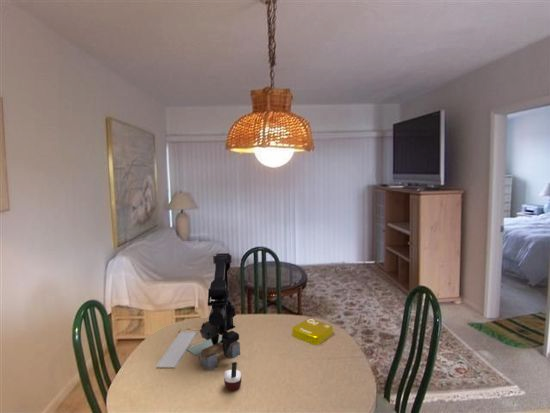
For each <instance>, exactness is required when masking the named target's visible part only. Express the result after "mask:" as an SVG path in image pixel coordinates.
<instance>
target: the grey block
mask: <svg viewBox="0 0 550 413" xmlns="http://www.w3.org/2000/svg"><path fill="white" fill-rule="evenodd" d="M225 355H226V356H227V355H228V356H227V357H229V356H230V357H229V358H231V359H232V358H233V359H235V358H238V357H239V356H240V355H241V342H240V341H238V342H237V343H235V344H232V345H231V348H230V349H229V350H228V352H227V354H225ZM238 355H239V356H238Z"/></svg>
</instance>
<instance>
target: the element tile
mask: <svg viewBox="0 0 550 413" xmlns="http://www.w3.org/2000/svg"><path fill="white" fill-rule="evenodd" d="M333 335H334V327H333V325H331V324H328V323H326V322H324V321H320V320H316V319H313V318H306V319H305V320H303V321H300V322H299V323H297V324H296V325H294V326H293V327H292V335H291V336H292V338H294V339H297V340H300V341H303V342H305V343H308V344H311V345H313V346H319V345H321V344H322V343H323V342H325V341H326V340H328V339H329V338H331V337H332V336H333Z"/></svg>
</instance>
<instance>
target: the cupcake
mask: <svg viewBox="0 0 550 413" xmlns="http://www.w3.org/2000/svg"><path fill="white" fill-rule="evenodd" d="M237 363H238V362H237V361H233V362H232V363H231V369H228V370H225V371H224V374H223V377H224V379H223V380H224V382H223V383H224V385H225V387H226V388H227V390H229V391H234V390H235V391H236V390H238V389H240V387H241V383H242V372H241V371H239V370H238V368H237V366H238V364H237Z"/></svg>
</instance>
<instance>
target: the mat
mask: <svg viewBox="0 0 550 413" xmlns="http://www.w3.org/2000/svg"><path fill="white" fill-rule="evenodd" d="M221 340H222V336H221V335H219V340H218V343H219V342H220V341H221ZM212 345H213V344H212V341H211V339H209V340H206V339H205V340H204V341H202V342H200V343H198V344H194V345H193V346H191V347H190V346H189V347H188V349H187V351H186V352H188V353H190V354H191V353H192V355H194V356H195V357H197V356H200V352H201V351H202V350H203V349H206V348H208V347H210V346H212Z"/></svg>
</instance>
